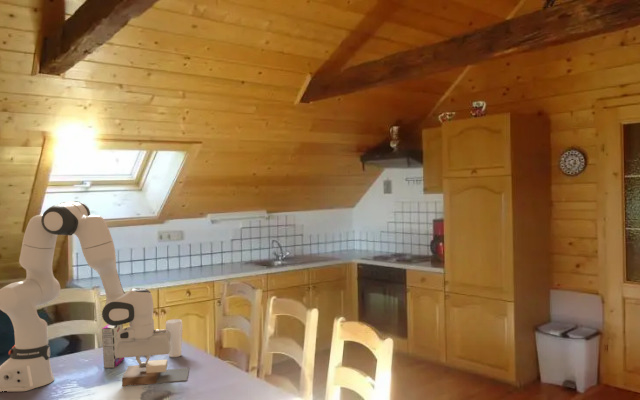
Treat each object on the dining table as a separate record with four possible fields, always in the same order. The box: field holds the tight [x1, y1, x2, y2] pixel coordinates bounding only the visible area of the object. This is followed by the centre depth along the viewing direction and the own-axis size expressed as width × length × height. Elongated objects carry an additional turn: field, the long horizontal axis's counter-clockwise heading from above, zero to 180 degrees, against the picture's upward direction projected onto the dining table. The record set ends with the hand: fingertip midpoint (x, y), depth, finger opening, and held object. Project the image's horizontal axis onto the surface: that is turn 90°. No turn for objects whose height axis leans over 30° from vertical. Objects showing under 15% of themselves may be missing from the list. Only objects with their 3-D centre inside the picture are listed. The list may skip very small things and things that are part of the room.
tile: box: [146, 359, 169, 373], centre depth 216 cm, size 7×7×2 cm
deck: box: [121, 364, 160, 387], centre depth 215 cm, size 12×14×3 cm
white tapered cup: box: [165, 318, 183, 358], centre depth 242 cm, size 7×7×15 cm
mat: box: [156, 367, 190, 384], centre depth 217 cm, size 11×14×1 cm
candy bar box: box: [101, 324, 125, 369], centre depth 233 cm, size 11×5×16 cm, turn 0°
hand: (143, 367), depth 215 cm, fingers closed
